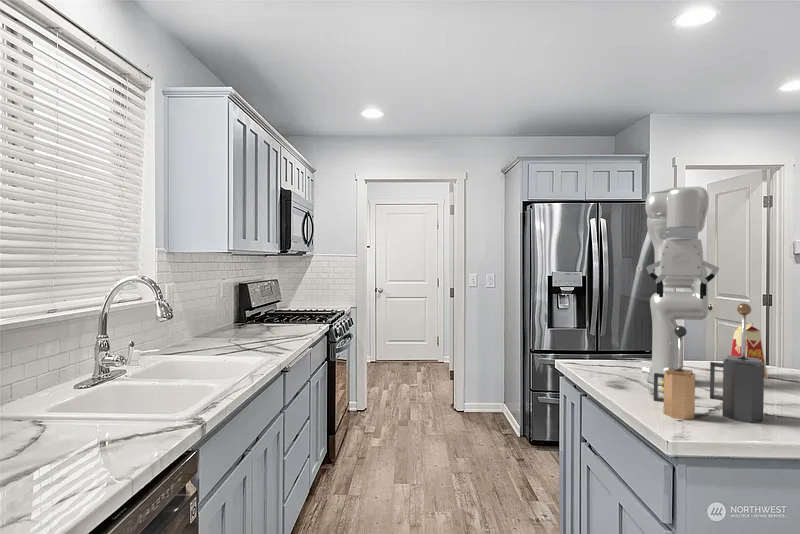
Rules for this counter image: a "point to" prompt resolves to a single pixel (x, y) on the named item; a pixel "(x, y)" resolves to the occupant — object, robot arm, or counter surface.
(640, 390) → the counter surface
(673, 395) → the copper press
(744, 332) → the plunger rod
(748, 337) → the milk carton
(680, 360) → the grey ball handle
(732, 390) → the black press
